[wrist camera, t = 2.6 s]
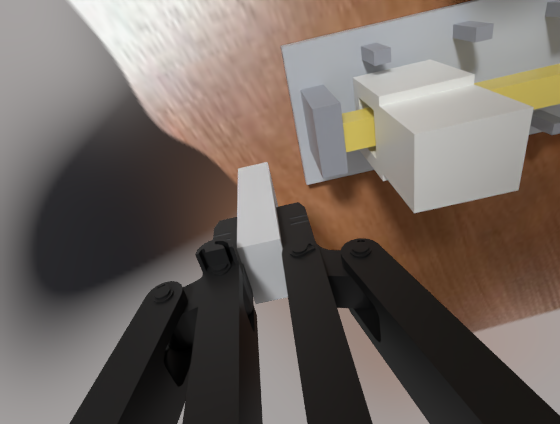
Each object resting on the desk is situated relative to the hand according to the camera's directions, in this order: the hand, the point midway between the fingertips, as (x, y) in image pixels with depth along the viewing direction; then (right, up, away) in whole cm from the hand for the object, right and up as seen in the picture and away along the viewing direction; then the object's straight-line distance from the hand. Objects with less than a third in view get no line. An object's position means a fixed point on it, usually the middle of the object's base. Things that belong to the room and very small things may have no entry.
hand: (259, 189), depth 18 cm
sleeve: (+9, +6, +6) cm, 12 cm away
